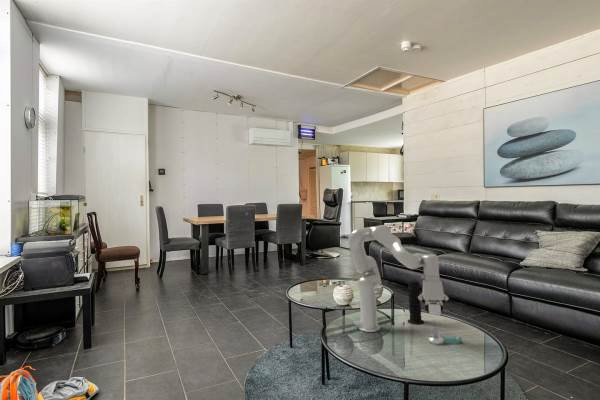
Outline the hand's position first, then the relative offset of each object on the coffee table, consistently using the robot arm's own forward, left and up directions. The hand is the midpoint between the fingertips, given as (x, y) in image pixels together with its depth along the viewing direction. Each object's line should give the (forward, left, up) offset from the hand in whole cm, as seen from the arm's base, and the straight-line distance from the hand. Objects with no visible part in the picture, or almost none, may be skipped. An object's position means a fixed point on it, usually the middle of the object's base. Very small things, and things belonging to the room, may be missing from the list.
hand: (434, 311), depth 173 cm
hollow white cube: (0, 0, -1) cm, 1 cm away
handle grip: (-7, +30, -16) cm, 35 cm away
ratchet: (+4, 0, -16) cm, 16 cm away
